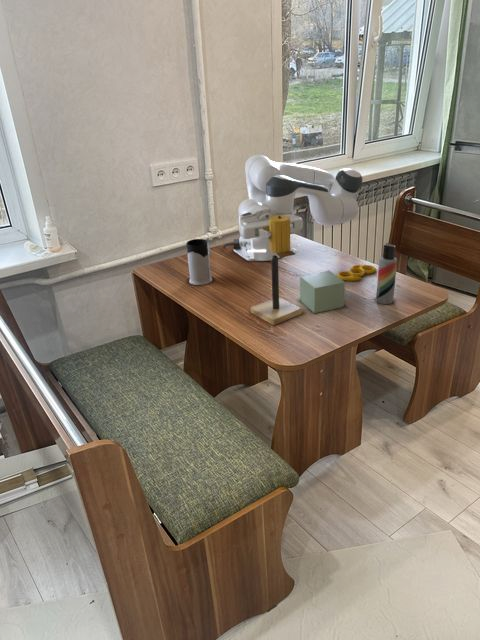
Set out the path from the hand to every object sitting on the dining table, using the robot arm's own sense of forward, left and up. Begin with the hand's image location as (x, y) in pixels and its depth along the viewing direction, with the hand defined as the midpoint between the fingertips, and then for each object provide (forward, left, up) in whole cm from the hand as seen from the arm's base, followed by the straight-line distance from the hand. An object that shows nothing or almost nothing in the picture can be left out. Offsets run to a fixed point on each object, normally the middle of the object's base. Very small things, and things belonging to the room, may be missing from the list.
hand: (280, 233), depth 161 cm
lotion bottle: (+17, +32, -27) cm, 45 cm away
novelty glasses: (-5, +42, -27) cm, 50 cm away
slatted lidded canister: (+1, 0, -6) cm, 6 cm away
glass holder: (-43, -2, -27) cm, 51 cm away
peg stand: (-1, -1, -27) cm, 27 cm away
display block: (+4, +15, -27) cm, 31 cm away
